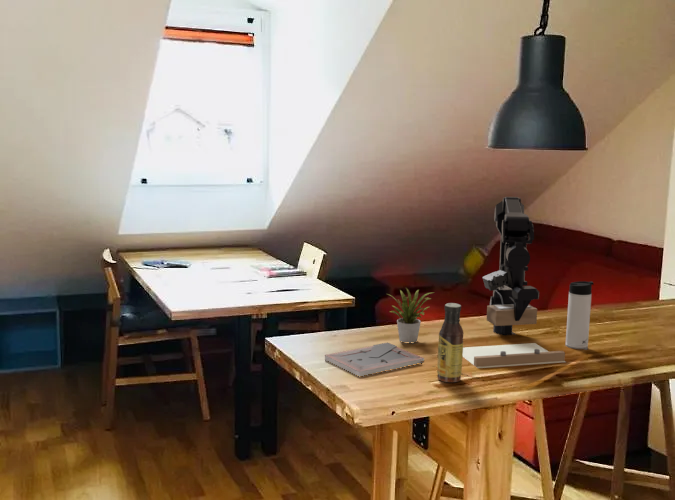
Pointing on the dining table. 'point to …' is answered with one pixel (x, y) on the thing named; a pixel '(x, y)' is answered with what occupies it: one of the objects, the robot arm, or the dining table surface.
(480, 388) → the dining table surface
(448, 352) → the sauce bottle
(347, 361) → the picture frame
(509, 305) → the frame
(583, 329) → the travel mug
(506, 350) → the wall board
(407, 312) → the house plant
